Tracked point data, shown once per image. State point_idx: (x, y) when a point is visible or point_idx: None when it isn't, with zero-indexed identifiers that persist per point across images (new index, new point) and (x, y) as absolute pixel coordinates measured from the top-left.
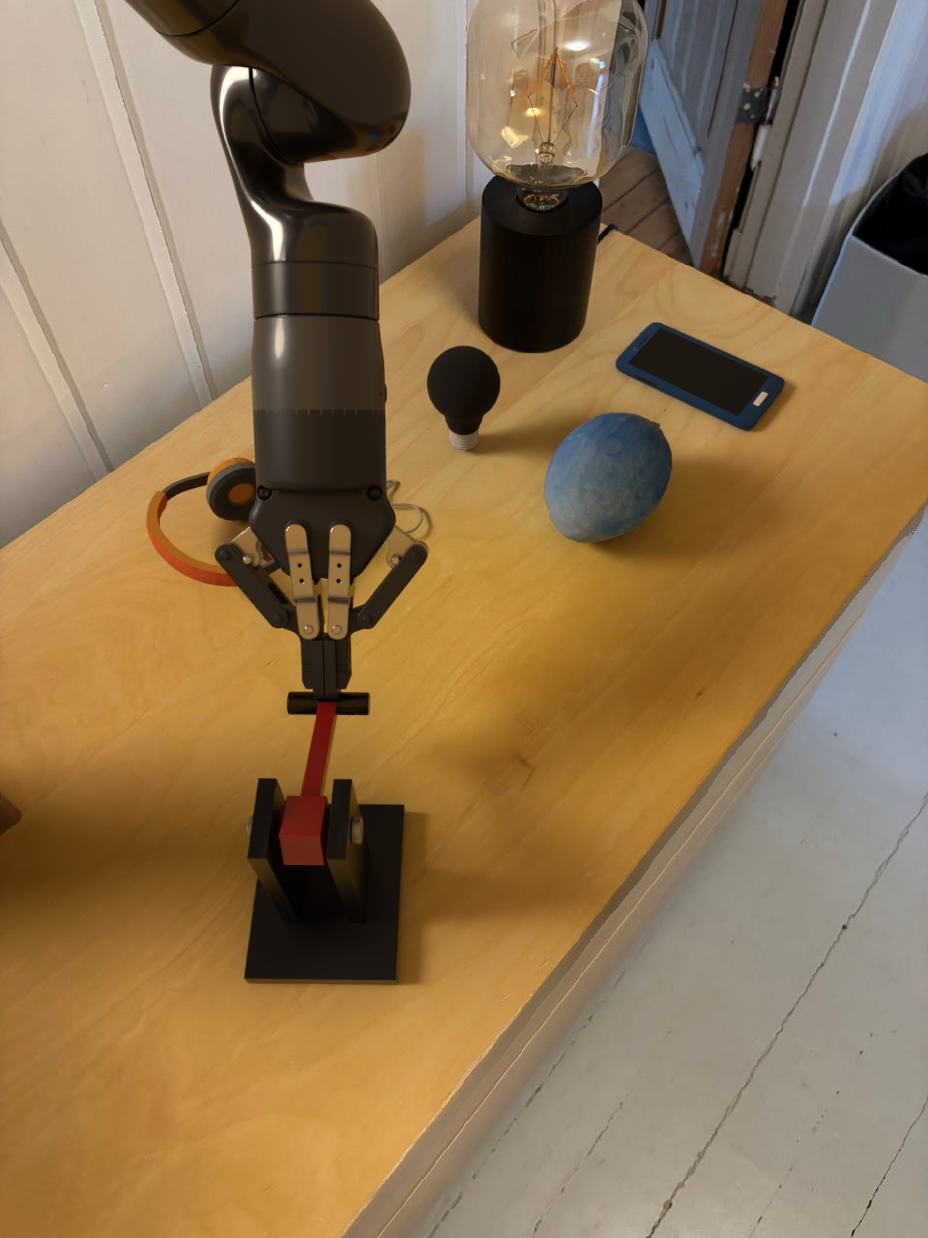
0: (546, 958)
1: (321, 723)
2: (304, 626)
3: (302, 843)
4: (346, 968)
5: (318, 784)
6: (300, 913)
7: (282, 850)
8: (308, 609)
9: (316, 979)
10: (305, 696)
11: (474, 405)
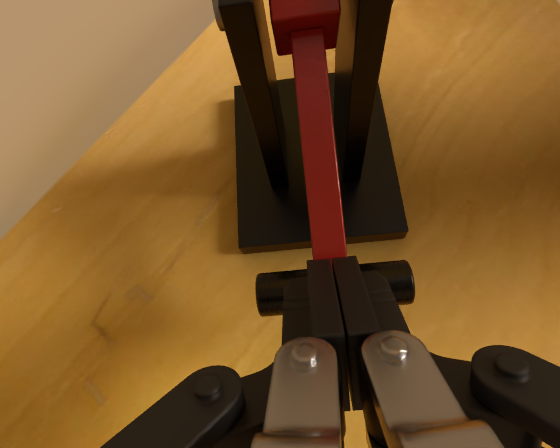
0: (107, 135)
1: (329, 218)
2: (409, 355)
3: None
4: (280, 87)
5: (299, 71)
6: (334, 121)
7: None
8: (410, 403)
9: None
10: None
11: None
